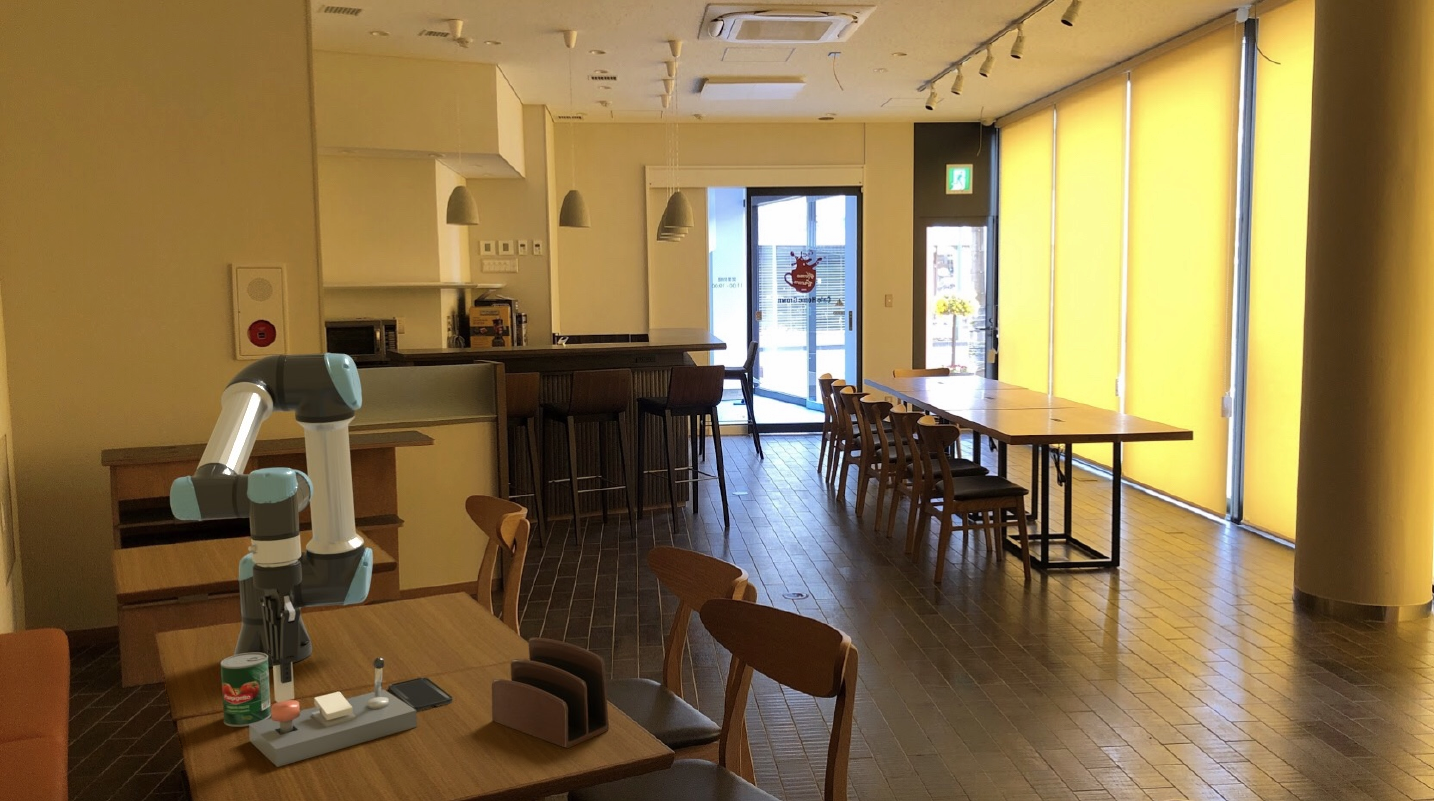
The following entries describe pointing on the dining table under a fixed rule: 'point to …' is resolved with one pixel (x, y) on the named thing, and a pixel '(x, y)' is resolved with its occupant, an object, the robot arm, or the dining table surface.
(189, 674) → the dining table surface
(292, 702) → the push button
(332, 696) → the rocker switch
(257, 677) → the canned tomato
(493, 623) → the dining table surface
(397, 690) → the phone
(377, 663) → the toggle lever
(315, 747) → the control panel
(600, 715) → the letter holder
